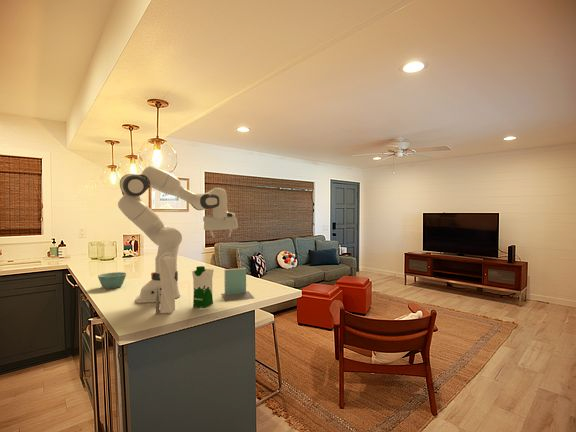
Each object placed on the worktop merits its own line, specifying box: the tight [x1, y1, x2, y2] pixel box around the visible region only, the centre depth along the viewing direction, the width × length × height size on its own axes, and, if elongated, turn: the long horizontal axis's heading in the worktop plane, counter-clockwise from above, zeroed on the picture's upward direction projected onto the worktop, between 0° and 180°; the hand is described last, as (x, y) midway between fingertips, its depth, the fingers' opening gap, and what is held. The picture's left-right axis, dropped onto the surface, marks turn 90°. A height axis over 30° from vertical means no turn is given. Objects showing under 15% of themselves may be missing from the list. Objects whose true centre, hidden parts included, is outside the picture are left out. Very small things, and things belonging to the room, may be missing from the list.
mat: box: [220, 290, 256, 302], centre depth 167 cm, size 16×16×1 cm
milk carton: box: [191, 265, 214, 309], centre depth 151 cm, size 9×9×20 cm
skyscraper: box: [154, 253, 176, 316], centre depth 143 cm, size 8×8×28 cm
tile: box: [223, 267, 247, 295], centre depth 172 cm, size 12×2×14 cm, turn 110°
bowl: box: [97, 271, 127, 290], centre depth 190 cm, size 16×16×8 cm
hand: (221, 237), depth 183 cm, fingers open, 8 cm apart
